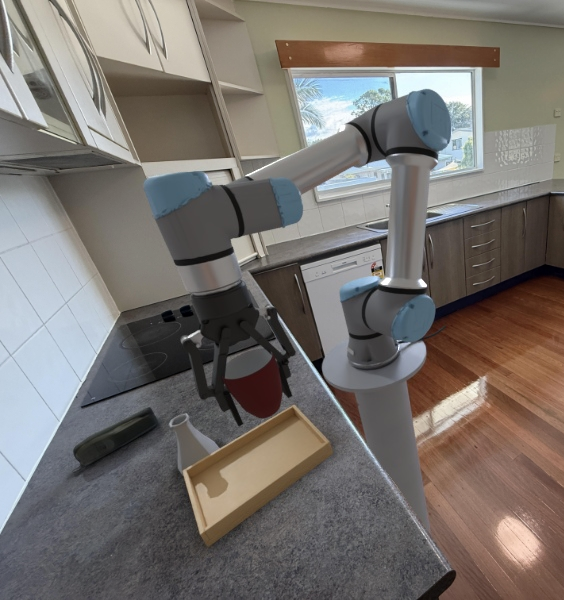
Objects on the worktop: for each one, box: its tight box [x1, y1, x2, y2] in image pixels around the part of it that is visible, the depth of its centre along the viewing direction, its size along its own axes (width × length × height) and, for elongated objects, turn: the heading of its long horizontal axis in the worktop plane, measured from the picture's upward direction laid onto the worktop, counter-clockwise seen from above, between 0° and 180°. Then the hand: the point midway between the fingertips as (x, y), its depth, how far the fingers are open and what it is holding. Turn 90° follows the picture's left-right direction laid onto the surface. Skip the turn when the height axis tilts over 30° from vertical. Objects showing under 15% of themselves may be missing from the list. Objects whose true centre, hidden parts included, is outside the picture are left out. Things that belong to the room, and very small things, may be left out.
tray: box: [182, 404, 334, 548], centre depth 56 cm, size 21×15×3 cm
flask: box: [168, 412, 221, 477], centre depth 59 cm, size 7×7×10 cm
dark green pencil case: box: [71, 406, 159, 474], centre depth 66 cm, size 5×3×15 cm
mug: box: [221, 348, 284, 419], centre depth 53 cm, size 10×8×10 cm
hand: (264, 406), depth 55 cm, fingers closed on mug, 8 cm apart
